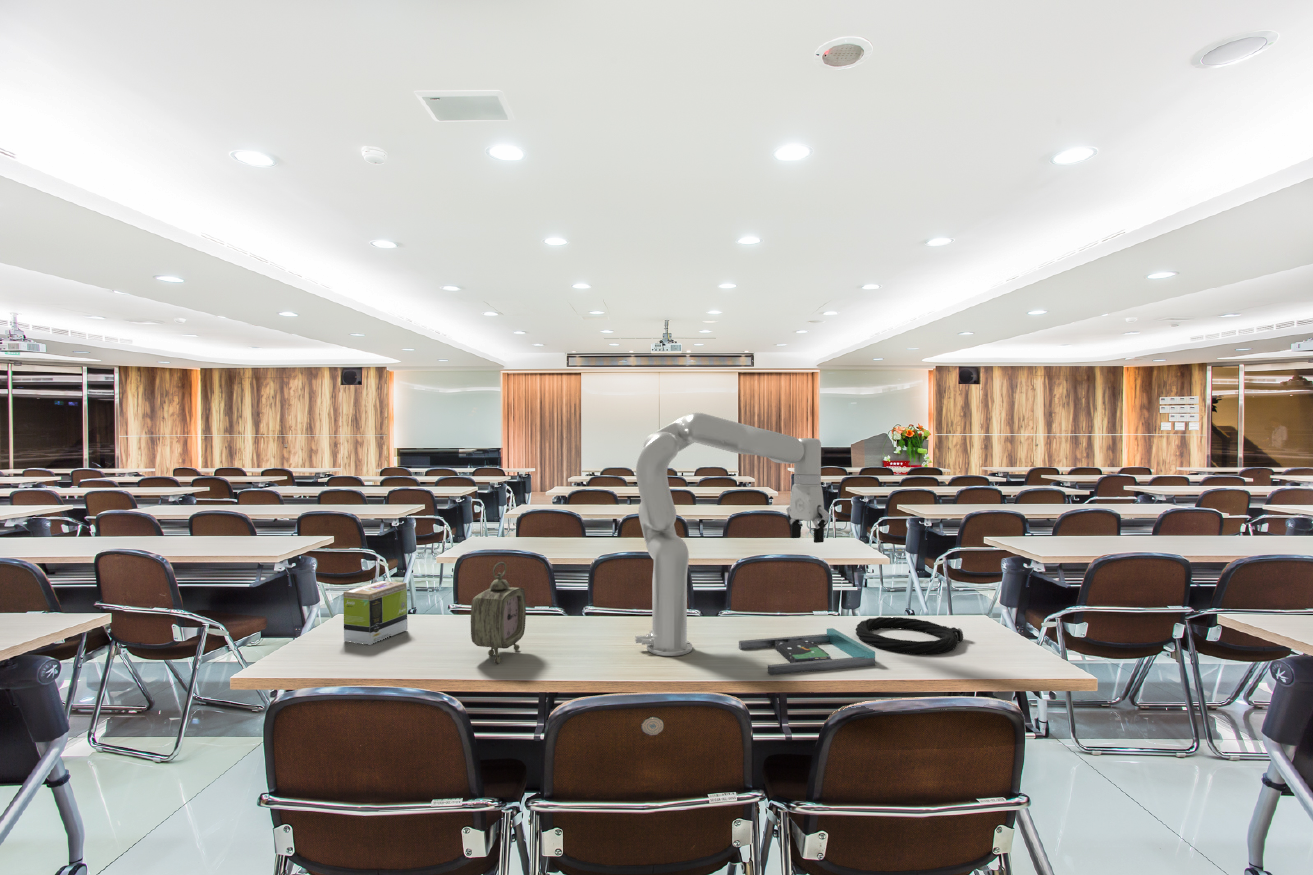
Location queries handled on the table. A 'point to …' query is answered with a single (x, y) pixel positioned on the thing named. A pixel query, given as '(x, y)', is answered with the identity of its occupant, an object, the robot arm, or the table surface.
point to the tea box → (375, 612)
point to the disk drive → (800, 651)
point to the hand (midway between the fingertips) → (807, 540)
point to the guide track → (856, 650)
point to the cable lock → (906, 646)
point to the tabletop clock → (498, 616)
